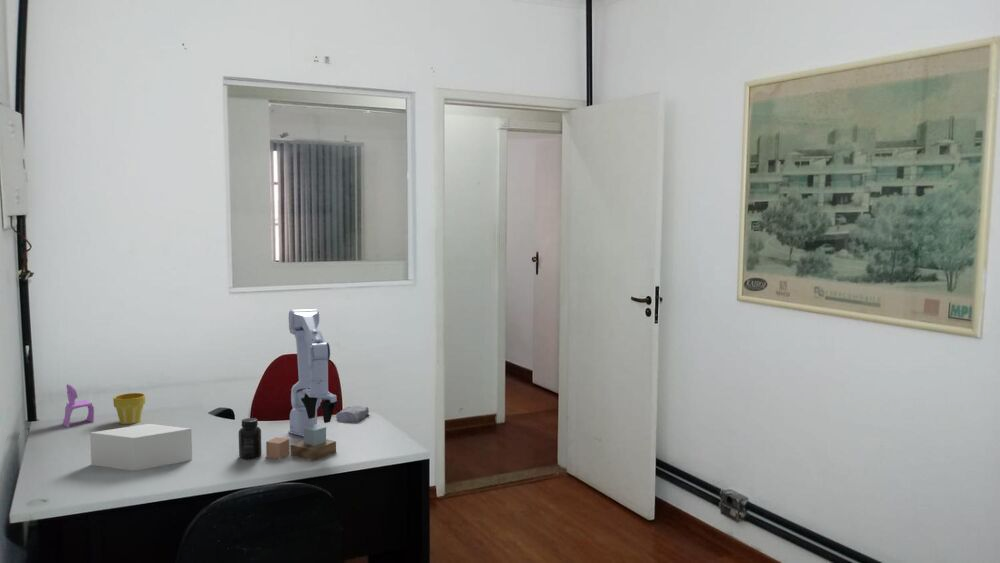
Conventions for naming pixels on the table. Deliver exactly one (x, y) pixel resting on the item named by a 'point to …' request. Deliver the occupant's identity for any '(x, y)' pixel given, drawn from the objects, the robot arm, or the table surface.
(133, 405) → the plant pot
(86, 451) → the table surface
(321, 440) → the blue-grey cube
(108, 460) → the white foam block
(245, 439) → the supplement bottle
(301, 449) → the walnut slab
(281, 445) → the terracotta cube
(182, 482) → the table surface
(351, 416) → the stone block
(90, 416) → the toy chair
